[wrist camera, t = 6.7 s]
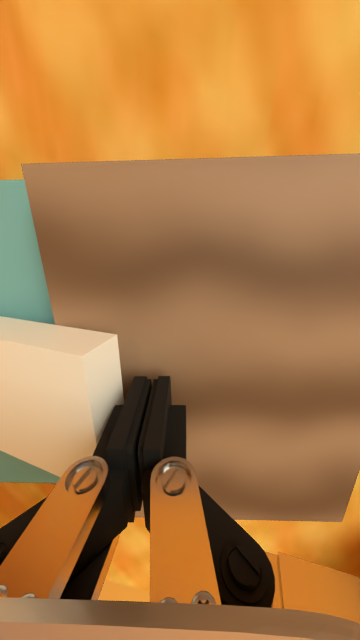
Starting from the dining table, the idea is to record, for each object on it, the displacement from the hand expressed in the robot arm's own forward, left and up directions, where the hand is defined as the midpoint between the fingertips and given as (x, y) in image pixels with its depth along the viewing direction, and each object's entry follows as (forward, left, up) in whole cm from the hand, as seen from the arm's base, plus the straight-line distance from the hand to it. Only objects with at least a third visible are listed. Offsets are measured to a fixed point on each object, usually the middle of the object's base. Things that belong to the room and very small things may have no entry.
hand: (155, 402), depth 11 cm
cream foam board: (0, -6, -1) cm, 6 cm away
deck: (0, +3, -3) cm, 5 cm away
